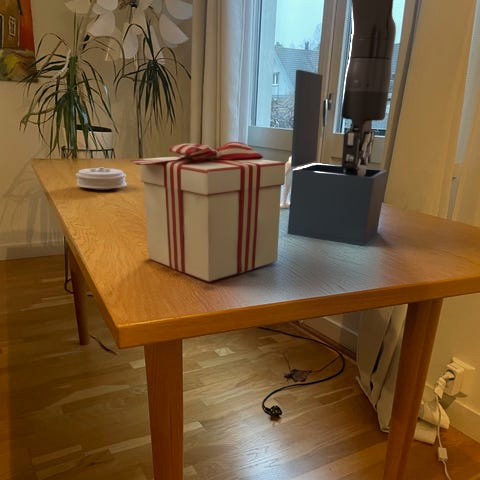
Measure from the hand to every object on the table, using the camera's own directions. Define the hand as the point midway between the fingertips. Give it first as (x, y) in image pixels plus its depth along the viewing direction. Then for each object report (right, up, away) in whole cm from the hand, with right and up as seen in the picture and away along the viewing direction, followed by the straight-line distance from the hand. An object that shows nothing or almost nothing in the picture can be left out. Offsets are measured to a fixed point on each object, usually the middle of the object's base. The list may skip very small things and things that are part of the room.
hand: (352, 190), depth 89 cm
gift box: (-27, -15, -15) cm, 34 cm away
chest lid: (-8, +13, -1) cm, 15 cm away
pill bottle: (0, -4, +2) cm, 5 cm away
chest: (-3, -7, +5) cm, 9 cm away
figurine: (-9, +3, +26) cm, 27 cm away
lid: (-58, +10, +37) cm, 69 cm away
